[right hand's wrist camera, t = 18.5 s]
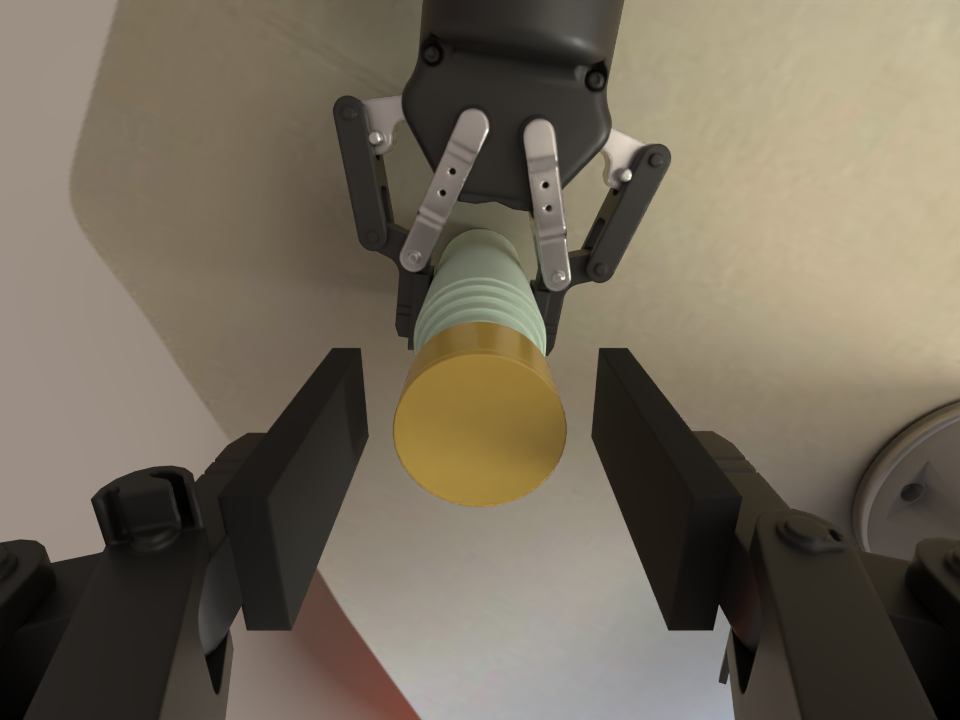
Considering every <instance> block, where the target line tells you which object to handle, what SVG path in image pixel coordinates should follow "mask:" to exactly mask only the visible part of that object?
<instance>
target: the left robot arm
mask: <svg viewBox="0 0 960 720" xmlns="http://www.w3.org/2000/svg"><path fill="white" fill-rule="evenodd" d="M623 4H624V0H423V7H422V19H421V31H420V43H419V54H418V60H417V64H416V67H415V70H414V72H413V74H412V76H411V78H410V79H409V81H408V82H407V84H406V85H405V87H404V90H403V93H402V95H398V96H391V97H383V98H376V99H369V100H359V99H357V98H355V97H352V96H342V97H340V98H339V99H338V100H337V101H336V102H335V104H334V108H333V115H334V120H335V125H336V130H337V134H338V139H339V144H340V149H341V154H342V159H343V164H344V169H345V174H346V178H347V183H348V188H349V193H350V198H351V203H352V208H353V213H354V218H355V223H356V227H357V232H358V237H359V241H360V243H361V245H362V246H363V247H364V248H366V249H367V250H370V251H377V252H379V253H381V254H383V255H385V256H387V257H389V258H391V259H392V260H393V261H394V262H395V263H396V265H397V266H398V269H399V287H398V299H397V311H396V323H395V326H396V329H397V332H398V336H400V337H408V338H409V340H408V350H414V330H415V325H416V322H417V319H418V316H419V314H420V311H421V308H422V306H423V303H424V301H425V298H426V296H427V293H428V290H429V288H430V285H431V283H432V280H433V275H434V266H431V265H430V262H431V254H432V252H433V250H434V248H435V245H436V243H437V241H438V239H439V237H440V235H441V233H442V231H443V228H444V226H445V224H446V222H447V220H448V218H449V216H450V214H451V211H452V209H453V207H454V205H455V203H456V201H457V199H458V201H460V202H467V203H474V204H478V203H486V202H494V201H495V202H498V203H500V204H503V205H505V206H507V207H510V208H512V209H516V210H522V211H528V213H529V220H530V226H531V230H532V235H533V240H534V247H535V253H536V260H537V266H538V269H537V275H536V280H531V281H530V288H531V290H532V293H533V296H534V298H535V301H536V303H537V306H538V309H539V311H540V314H541V316H542V319H543V322H544V326H545V330H546V354H545V356H548V355H549V353H550V352H551V350H552V349H553V347H554V344H555V339H556V334H557V329H558V324H559V319H560V314H561V309H562V304H563V299H564V296H565V293H566V292H567V291H568V289H570V288H571V287H572V286H574V285H577V284H581V283H585V282H590V281H594V282H596V283H603V282H606V281H608V280H609V279H610V278H611V277H612V275H613V274H614V272H615V270H616V268H617V266H618V264H619V262H620V260H621V258H622V256H623V254H624V252H625V251H626V249H627V247H628V245H629V243H630V241H631V239H632V237H633V235H634V233H635V231H636V229H637V227H638V225H639V223H640V222H641V220H642V218H643V216H644V214H645V212H646V210H647V208H648V206H649V204H650V202H651V200H652V198H653V196H654V194H655V192H656V191H657V189H658V187H659V185H660V183H661V181H662V179H663V177H664V175H665V173H666V171H667V169H668V167H669V165H670V162H671V154H670V151H669V149H668V148H667V147H666V146H664V145H662V144H646V143H644V142H642V141H640V140H637V139H635V138H633V137H631V136H629V135H627V134H625V133H623V132H621V131H619V130H616V129H614V128H612V121H611V115H610V112H609V109H608V104H607V83H608V78H609V73H610V68H611V63H612V58H613V53H614V48H615V43H616V38H617V33H618V28H619V23H620V19H621V14H622V9H623ZM404 122H407V123H408V125H409V127H410V129H411V131H412V133H413V134H414V136H415V138H416V140H417V142H418V144H419V146H420V148H421V150H422V151H423V153H424V155H425V157H426V159H427V161H428V163H429V165H430V166H431V168H432V170H433V172H434V176H433V178H432V181H431V183H430V185H429V187H428V190H427V192H426V194H425V196H424V199H423V201H422V203H421V205H420V208H419V210H418V213H417V216H416V218H415V221H414V223H413V225H412V227H411V230H410V231H409V230H407V229H405V228H403V227H401V226H399V225H397V224H395V222H394V217H393V211H392V205H391V200H390V194H389V188H388V183H387V177H386V172H385V166H384V160H383V155H384V154H387V153H389V152H391V151H392V150H393V148H394V146H395V142H396V137H395V136H396V131H397V129H398V127H399V126H400V125H401V124H402V123H404ZM599 151H600V152H601V153H602V154H603V156H604V159H605V168H604V171H603V180H604V182H605V184H606V185H607V186H608V187H610V190H609V192H608V194H607V196H606V198H605V200H604V202H603V204H602V207H601V209H600V211H599V213H598V215H597V217H596V219H595V221H594V223H593V225H592V227H591V229H590V231H589V233H588V235H587V237H586V240H585V242H584V244H583V246H582V248H581V250H577V251H572V252H568V247H567V240H566V234H567V228H566V220H565V212H564V204H563V197H562V189H563V188H564V187H565V186H566V185H567V184H568V183H569V182H570V181H571V180H572V179H573V178H574V177H575V176H576V175H577V174H578V173H579V172H580V171H581V170H582V169H583V168H584V167H585V166H586V165H587V164H588V163H589V162H590V161H591V160H592V159H593V157H594V156H595V155H596V154H597V153H598V152H599Z"/></svg>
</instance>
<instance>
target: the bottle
mask: <svg viewBox="0 0 960 720" xmlns="http://www.w3.org/2000/svg"><path fill="white" fill-rule="evenodd" d="M468 322H491V323H497V324H501V325H504V326H507V327H510V328H512V329H514V330H516V331H518V332H520V333H521V334H523V335H525V336H526V337H527V338H528V339H530V340H531V341H532V342H533V343H534V344H535V345H536V346H537V347H538V348H539V350H540V351H541V352H542V354H543V355H544V357H545V354H546V330H545V326H544V322H543V319H542V316H541V314H540V311H539V309H538V306H537V303H536V301H535V298H534V296H533V293H532V290H531V288H530V285H529V283H528V280H527V277H526V275H525V272H524V270H523V267H522V264H521V262H520V259H519V257H518V254H517V252H516V250H515V248H514V247H513V245H512V244H511V243H510V242H509V241H508V240H507V239H506V238H505V237H504V236H502V235H501V234H499V233H497V232H494V231H491V230H487V229H473V230H469V231H466V232H464V233H461V234H460V235H458V236H456V237H455V238H454V239H453V240H452V241H451V242H450V243H449V244H448V245H447V247H446V248H445V250H444V252H443V254H442V257H441V260H440V262H439V265H438V267H437V270H436V272H435V275H434V278H433V280H432V283H431V285H430V288H429V290H428V293H427V296H426V298H425V301H424V303H423V306H422V308H421V311H420V314H419V316H418V319H417V322H416V325H415V330H414V355H415V356H416V355H417V353H418V352H419V350H420V349H421V348H422V347H423V346H424V345H425V343H427V342H428V341H429V340H430V339H431V338H432V337H434V336H435V335H437V334H438V333H440V332H441V331H443V330H445V329H448V328H450V327H453V326H455V325H458V324H463V323H468Z"/></svg>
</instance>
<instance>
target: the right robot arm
mask: <svg viewBox="0 0 960 720" xmlns="http://www.w3.org/2000/svg"><path fill="white" fill-rule="evenodd" d="M368 437H369V435H368V424H367V413H366V402H365V391H364V379H363V368H362V357H361V348H332V349H331V351H330V352H329V353H328V355H327V356H326V357H325V359H324V360H323V361H322V362H321V364H320V365H319V366H318V368H317V369H316V370H315V371H314V373H313V374H312V375H311V377H310V378H309V379H308V380H307V382H306V383H305V384H304V386H303V387H302V388H301V390H300V391H299V392H298V393H297V395H296V396H295V397H294V399H293V400H292V401H291V402H290V404H289V405H288V406H287V408H286V409H285V410H284V411H283V413H282V414H281V415H280V417H279V418H278V419H277V421H276V422H275V423H274V424H273V426H272V427H271V428H270V430H269V431H268V432H267V433H247V434H245V435H244V436H242V437H240V438H239V439H237V440H235V441H234V442H232V443H230V444H229V445H227V447H226V448H225V449H224V450H223V451H222V452H221V453H220V454H219V456H218V457H217V458H216V459H215V462H213V463H212V464H211V465H210V466H209V467H208V468H207V469H206V470H205V474H202V475H201V476H200V477H199V478H198V480H197V481H196V482H194V478H193V474H192V473H191V472H190V471H188V470H187V469H185V468H182V467H176V466H159V467H151V468H147V469H143V470H139V471H135V472H132V473H130V474H127V475H125V476H122V477H120V478H117V479H115V480H114V481H112V482H111V483H109V484H107V485H106V486H104V487H103V488H101V489H100V490H99V491H98V492H97V493H96V494H95V495H94V496H93V498H92V499H91V502H92V505H93V508H94V511H95V514H96V517H97V520H98V523H99V526H100V529H101V532H102V535H103V538H104V541H105V544H106V547H105V549H104V551H103V552H101V553H97V554H93V555H88V556H83V557H78V558H73V559H69V560H64V561H59V562H54V563H51V562H50V560H49V557H48V554H47V552H46V549H45V547H44V546H43V545H42V544H40V543H39V542H37V541H33V540H14V541H8V542H2V543H0V720H225V717H226V709H227V700H228V692H229V683H230V675H231V666H232V658H233V643H232V637H231V633H230V629H229V628H230V626H231V624H232V622H233V620H234V618H235V617H236V615H237V613H238V611H239V609H240V607H241V606H242V610H243V615H244V619H245V624H246V628H247V630H292V628H293V625H294V623H295V620H296V618H297V615H298V613H299V610H300V608H301V605H302V603H303V600H304V598H305V595H306V592H307V590H308V587H309V585H310V583H311V580H312V578H313V575H314V573H315V570H316V568H317V565H318V563H319V560H320V558H321V555H322V552H323V550H324V547H325V545H326V542H327V540H328V537H329V535H330V532H331V530H332V527H333V525H334V522H335V520H336V517H337V515H338V512H339V510H340V507H341V505H342V502H343V500H344V497H345V495H346V492H347V490H348V487H349V485H350V482H351V480H352V477H353V475H354V472H355V470H356V467H357V465H358V462H359V460H360V457H361V455H362V452H363V450H364V447H365V445H366V442H367V440H368ZM591 437H592V440H593V442H594V445H595V447H596V450H597V452H598V455H599V457H600V460H601V462H602V465H603V467H604V470H605V472H606V475H607V477H608V480H609V482H610V485H611V487H612V490H613V492H614V495H615V497H616V500H617V502H618V505H619V507H620V510H621V512H622V515H623V517H624V520H625V522H626V525H627V527H628V530H629V532H630V535H631V537H632V540H633V542H634V545H635V547H636V550H637V553H638V555H639V558H640V560H641V563H642V565H643V568H644V570H645V573H646V575H647V578H648V580H649V583H650V585H651V588H652V590H653V593H654V595H655V598H656V600H657V603H658V605H659V608H660V610H661V613H662V615H663V618H664V620H665V623H666V625H667V628H668V630H713V628H714V624H715V619H716V615H717V610H718V606H719V605H720V607H721V608H722V610H723V612H724V614H725V616H726V618H727V620H728V621H729V623H730V625H731V629H730V633H729V637H728V641H727V646H726V650H725V654H724V658H723V662H722V667H721V671H720V677H719V682H720V683H723V684H726V682H727V678H728V674H729V673H730V682H731V690H732V699H733V707H734V716H735V720H960V402H957V403H954V404H951V405H949V406H946V407H944V408H942V409H939V410H937V411H935V412H933V413H931V414H929V415H928V416H926V417H924V418H922V419H921V420H919V421H917V422H916V423H914V424H913V425H911V426H910V427H909V428H907V429H906V430H904V431H903V432H902V433H901V434H899V435H898V436H897V437H896V438H895V439H894V440H892V441H891V442H890V443H889V444H888V445H887V446H886V447H885V448H884V449H883V451H882V452H881V453H880V454H879V455H878V456H877V457H876V459H875V460H874V461H873V463H872V464H871V465H870V467H869V469H868V470H867V472H866V473H865V475H864V477H863V479H862V481H861V483H860V485H859V488H858V490H857V493H856V496H855V500H854V505H853V512H852V522H853V530H854V534H855V537H856V539H857V542H858V544H859V546H860V548H861V549H862V551H861V550H857V549H856V548H855V546H854V544H853V543H852V542H851V540H850V539H849V538H848V536H847V535H846V534H845V533H844V532H843V531H841V530H840V529H838V528H837V527H836V526H834V525H833V524H832V523H830V522H828V521H826V520H824V519H822V518H819V517H817V516H815V515H813V514H810V513H806V512H802V511H799V510H795V509H790V508H789V507H788V505H787V504H786V503H785V502H784V501H783V500H782V499H781V498H780V496H779V495H778V494H777V493H776V492H775V491H774V490H773V488H772V487H771V486H770V485H769V484H768V483H767V482H766V481H765V479H764V478H763V477H762V476H761V475H760V474H759V473H756V469H755V468H754V467H753V466H752V465H751V464H750V462H749V461H748V460H745V457H744V456H743V455H742V453H741V452H740V451H739V450H738V449H737V448H736V447H735V445H734V444H733V443H731V442H730V441H728V440H726V439H725V438H723V437H721V436H720V435H718V434H716V433H715V432H713V431H691V430H690V428H689V427H688V426H687V424H686V423H685V422H684V421H683V419H682V418H681V417H680V415H679V414H678V413H677V411H676V410H675V409H674V408H673V406H672V405H671V404H670V402H669V401H668V400H667V399H666V397H665V396H664V395H663V393H662V392H661V391H660V390H659V388H658V387H657V386H656V384H655V383H654V382H653V380H652V379H651V378H650V377H649V375H648V374H647V373H646V371H645V370H644V369H643V368H642V366H641V365H640V364H639V362H638V361H637V360H636V359H635V357H634V356H633V355H632V353H631V352H630V351H629V349H628V348H599V357H598V368H597V379H596V390H595V402H594V413H593V424H592V435H591Z"/></svg>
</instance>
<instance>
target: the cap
mask: <svg viewBox="0 0 960 720" xmlns="http://www.w3.org/2000/svg"><path fill="white" fill-rule="evenodd" d="M566 434H567V432H566V419H565V413H564V410H563V407H562V404H561V401H560V398H559V395H558V392H557V389H556V386H555V383H554V380H553V377H552V374H551V371H550V368H549V365H548V363H547V361H546V359H545V357H544V355H543V354H542V352H541V351H540V350H539V348H538V347H537V346H536V345H535V344H534V343H533V342H532V341H531V340H530V339H528V338H527V337H526V336H525V335H523V334H521V333H520V332H518V331H516V330H514V329H512V328H510V327H507V326H504V325H501V324H497V323H491V322H468V323H463V324H458V325H455V326H453V327H450V328H448V329H445V330H443V331H441V332H440V333H438V334H437V335H435V336H434V337H432V338H431V339H430V340H429V341H428V342H427V343H425V345H424V346H423V347H422V348H421V349H420V350H419V352H418V353H417V355H416V356H415V358H414V360H413V362H412V364H411V367H410V369H409V372H408V375H407V378H406V381H405V384H404V387H403V390H402V393H401V396H400V399H399V402H398V405H397V409H396V412H395V416H394V423H393V438H394V444H395V448H396V451H397V454H398V457H399V459H400V461H401V463H402V465H403V466H404V468H405V469H406V471H407V472H408V474H409V475H410V476H411V477H412V478H413V479H414V480H415V481H416V482H417V483H418V484H419V485H420V486H421V487H422V488H424V489H425V490H427V491H428V492H430V493H431V494H433V495H435V496H437V497H439V498H441V499H444V500H446V501H449V502H452V503H456V504H459V505H466V506H477V507H484V506H494V505H500V504H504V503H508V502H511V501H514V500H516V499H518V498H521V497H523V496H525V495H526V494H528V493H530V492H532V491H533V490H534V489H536V488H537V487H538V486H540V485H541V484H542V483H543V482H544V481H545V480H546V479H547V478H548V477H549V475H550V474H551V473H552V472H553V470H554V469H555V467H556V466H557V464H558V462H559V460H560V458H561V455H562V453H563V450H564V446H565V442H566Z"/></svg>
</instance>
